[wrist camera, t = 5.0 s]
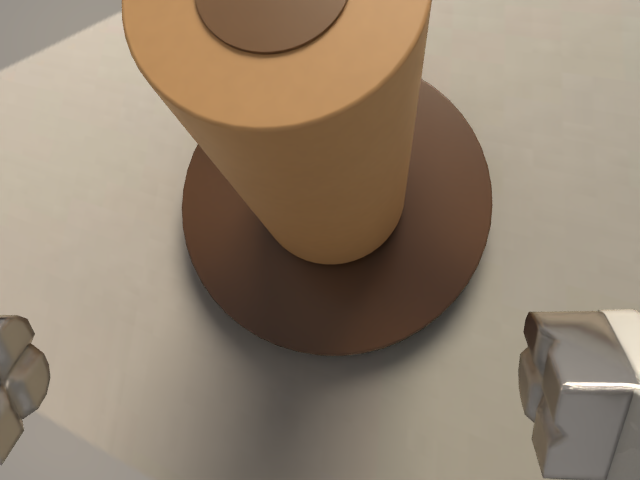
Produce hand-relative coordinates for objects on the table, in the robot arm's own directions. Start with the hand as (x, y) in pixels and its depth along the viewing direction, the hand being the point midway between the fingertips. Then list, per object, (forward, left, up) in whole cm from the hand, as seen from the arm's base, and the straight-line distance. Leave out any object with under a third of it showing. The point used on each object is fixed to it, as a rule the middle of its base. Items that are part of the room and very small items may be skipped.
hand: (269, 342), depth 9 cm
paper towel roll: (+6, +4, -14) cm, 16 cm away
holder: (+6, +4, -16) cm, 18 cm away
